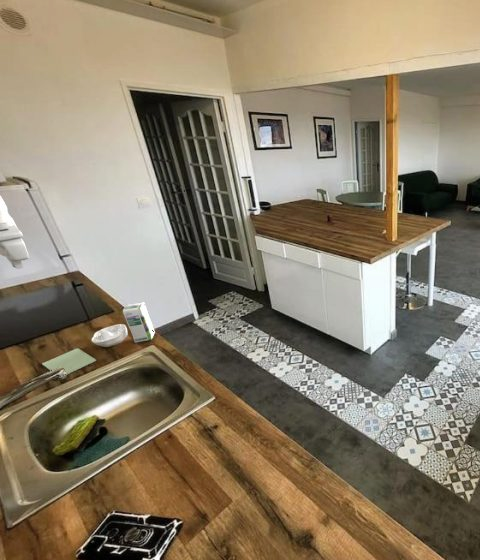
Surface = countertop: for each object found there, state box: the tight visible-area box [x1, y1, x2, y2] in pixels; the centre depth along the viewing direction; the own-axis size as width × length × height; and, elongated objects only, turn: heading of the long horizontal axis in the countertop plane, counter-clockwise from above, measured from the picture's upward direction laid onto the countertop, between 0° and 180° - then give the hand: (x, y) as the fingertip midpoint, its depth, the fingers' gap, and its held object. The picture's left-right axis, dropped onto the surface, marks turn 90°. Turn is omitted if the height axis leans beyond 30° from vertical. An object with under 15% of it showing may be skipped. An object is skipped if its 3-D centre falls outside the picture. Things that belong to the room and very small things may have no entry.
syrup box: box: [122, 301, 156, 344], centre depth 121 cm, size 6×6×14 cm
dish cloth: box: [41, 347, 97, 379], centre depth 110 cm, size 10×14×1 cm
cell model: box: [91, 323, 128, 348], centre depth 119 cm, size 10×12×7 cm
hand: (18, 267), depth 113 cm, fingers closed
